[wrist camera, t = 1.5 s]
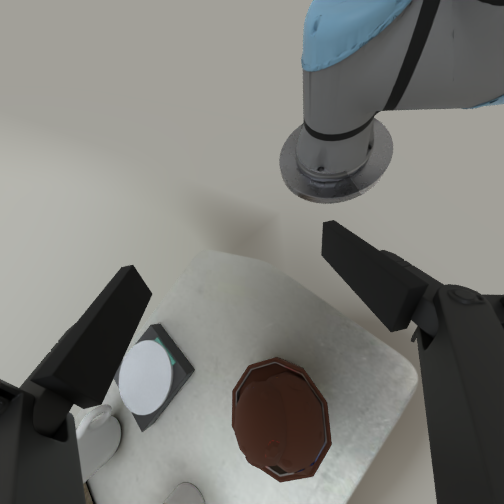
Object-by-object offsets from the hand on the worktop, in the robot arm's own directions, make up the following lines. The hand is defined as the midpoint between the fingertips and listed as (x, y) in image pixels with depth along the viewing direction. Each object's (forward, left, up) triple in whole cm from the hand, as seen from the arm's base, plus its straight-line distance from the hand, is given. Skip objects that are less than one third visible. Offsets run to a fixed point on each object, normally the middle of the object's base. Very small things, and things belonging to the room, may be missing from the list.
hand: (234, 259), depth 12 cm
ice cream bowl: (+4, +14, -22) cm, 26 cm away
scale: (+28, +7, -22) cm, 36 cm away
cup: (+39, +14, -22) cm, 47 cm away
